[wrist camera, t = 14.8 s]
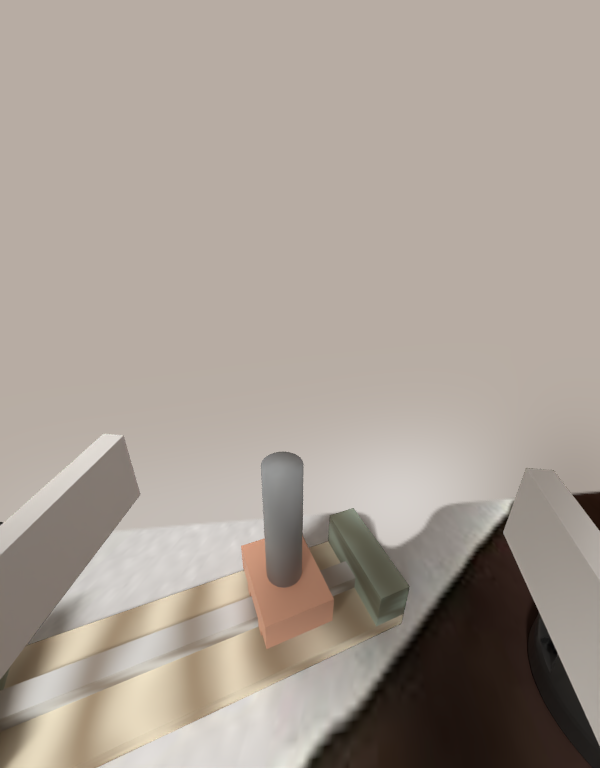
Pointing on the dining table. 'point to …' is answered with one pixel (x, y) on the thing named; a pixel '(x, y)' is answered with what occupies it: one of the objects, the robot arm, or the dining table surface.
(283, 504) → the carriage
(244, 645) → the rail track
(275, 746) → the dining table surface
